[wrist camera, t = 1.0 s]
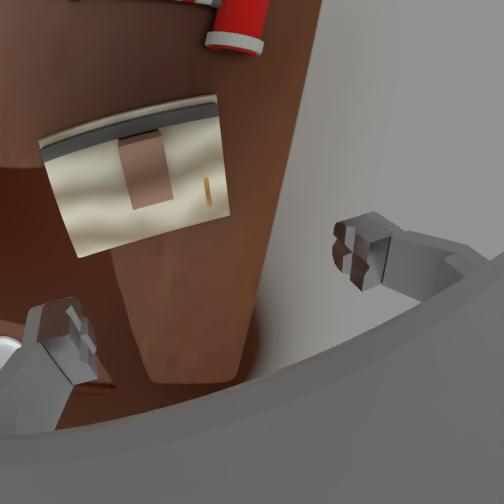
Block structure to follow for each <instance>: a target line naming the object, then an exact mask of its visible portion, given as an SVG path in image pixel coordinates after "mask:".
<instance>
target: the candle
mask: <svg viewBox="0 0 504 504" xmlns="http://www.w3.org/2000/svg"><path fill="white" fill-rule="evenodd" d="M21 345H22V343H20V342H19V341H18V340H16V339H14V338H12V337H9V336H0V370H1V368H2V367H3V366H4V364H5V363H6V362H7V361H8V359H9V358H10V357H11V355H12V354H13V353H14V351H15V350H16V349H17V348H20V347H21Z"/></svg>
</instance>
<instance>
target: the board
mask: <svg viewBox="0 0 504 504" xmlns="http://www.w3.org/2000/svg"><path fill="white" fill-rule="evenodd" d="M154 129H158V130H159V132H160V133H161V135H162V138H163V144H164V150H165V155H166V161H167V166H168V172H169V177H170V182H171V187H172V192H173V197H174V199H172V200H168V201H165V202H161V203H157V204H154V205H150V206H146V207H143V208H139V209H136V210H133V208H132V204H131V200H130V197H129V193H128V189H127V185H126V181H125V177H124V173H123V169H122V164H121V160H120V156H119V151H118V139H119V138H123V137H126V136H130V135H134V134H138V133H142V132H146V131H150V130H154ZM38 142H39V145H40V153H41V157H42V160H43V163H45V167H46V170H47V173H48V177H49V180H50V183H51V186H52V189H53V192H54V195H55V198H56V201H57V204H58V207H59V210H60V212H61V215H62V218H63V220H64V223H65V226H66V228H67V231H68V234H69V236H70V239H71V241H72V243H73V246H74V248H75V251H76V253H77V256H78V258H80V257H83V256H87V255H90V254H93V253H96V252H100V251H103V250H106V249H110V248H113V247H117V246H120V245H123V244H127V243H130V242H134V241H137V240H141V239H144V238H148V237H151V236H155V235H158V234H162V233H165V232H169V231H173V230H176V229H180V228H183V227H187V226H191V225H195V224H198V223H202V222H206V221H210V220H213V219H217V218H221V217H225V216H229V215H230V211H229V203H228V194H227V186H226V177H225V168H224V160H223V151H222V142H221V132H220V123H219V110H218V103H217V95H215V94H207V95H201V96H195V97H189V98H184V99H178V100H173V101H168V102H163V103H159V104H154V105H150V106H145V107H141V108H137V109H133V110H129V111H125V112H121V113H118V114H114V115H110V116H107V117H103V118H100V119H96V120H93V121H90V122H87V123H83V124H80V125H77V126H74V127H71V128H68V129H65V130H62V131H59V132H57V133H54V134H51V135H48V136H46V137H43V138H42V139H40V140H39V141H38Z"/></svg>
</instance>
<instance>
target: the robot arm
mask: <svg viewBox="0 0 504 504" xmlns="http://www.w3.org/2000/svg"><path fill="white" fill-rule="evenodd" d="M333 235H334V236H335V237H336V239H337V240H336V242H335V243H334V245H333V248H332V256H333V259H334V263H335V265H336V266H337V268H338V269H339V270H340V271H341V272H342V273H346V274H349V275H350V281H351V282H352V283H353V284H354V285H355V286H357V287H358V288H359V289H360V290H361V291H365V290H367V289H370V288H372V287H375V286H378V285H380V284H382V285H383V286H386V287H388V288H390V289H393V290H395V291H397V292H399V293H402V294H404V295H406V296H409V297H411V298H413V299H416V300H418V301H420V302H422V303H420V304H418V305H417V306H415V307H413V308H411V309H409V310H407V311H406V312H404V313H402V314H400V315H398V316H396V317H394V318H392V319H390V320H388V321H387V322H384V323H383V324H381V325H379V326H377V327H375V328H373V329H370V330H368V331H367V332H364V333H362V334H360V335H358V336H356V337H354V338H352V339H350V340H347V341H345V342H343V343H341V344H339V345H337V346H334V347H332V348H330V349H328V350H325V351H323V352H321V353H318V354H316V355H314V356H312V357H309V358H307V359H305V360H302V361H300V362H297V363H295V364H292V365H290V366H287V367H285V368H282V369H280V370H277V371H274V372H272V373H269V374H267V375H264V376H261V377H259V378H256V379H253V380H250V381H247V382H245V383H242V384H239V385H236V386H233V387H230V388H227V389H224V390H221V391H218V392H215V393H212V394H209V395H206V396H203V397H200V398H196V399H193V400H189V401H186V402H183V403H179V404H176V405H172V406H168V407H165V408H162V409H158V410H154V411H150V412H146V413H142V414H138V415H134V416H129V417H125V418H121V419H116V420H112V421H107V422H102V423H98V424H92V425H87V426H82V427H75V428H69V429H63V430H57V431H54V429H55V427H56V425H57V422H58V420H59V417H60V415H61V413H62V411H63V408H64V406H65V404H66V401H67V399H68V397H69V395H70V393H71V391H72V388H73V386H72V385H76V384H80V383H84V382H87V381H91V380H95V379H98V371H97V360H96V358H95V357H94V355H93V354H94V353H95V351H96V348H97V347H96V339H95V335H94V331H93V328H92V326H91V324H90V322H89V320H88V319H87V318H86V317H84V316H82V307H81V305H80V303H79V301H78V299H77V298H76V297H70V298H66V299H63V300H59V301H55V302H51V303H47V304H45V305H40V306H37V307H34V308H31V309H30V310H29V313H28V317H27V322H26V326H25V330H24V335H23V340H22V345H21V347H20V348H17V349H16V350H15V351H14V353H13V354H12V355H11V357H10V358H9V359H8V361H7V362H6V363H5V364H4V366H3V367H2V368H1V370H0V504H504V252H502V253H501V254H499V255H498V256H497V257H495V258H493V259H492V260H490V261H489V260H488V259H486V258H485V257H483V256H482V255H481V254H479V253H478V252H477V251H475V250H474V249H472V248H471V247H469V246H468V245H465V244H461V243H457V242H453V241H449V240H446V239H441V238H438V237H434V236H429V235H426V234H421V233H417V232H413V231H409V230H408V231H404V230H403V229H401V228H400V227H398V226H396V225H395V224H394V223H392V222H390V221H389V220H387V219H386V218H384V217H383V216H381V215H380V214H378V213H377V212H369V213H366V214H363V215H360V216H357V217H354V218H350V219H347V220H343V221H340V222H337V223H336V224H335V226H334V234H333Z"/></svg>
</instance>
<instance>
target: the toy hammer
mask: <svg viewBox="0 0 504 504" xmlns="http://www.w3.org/2000/svg"><path fill="white" fill-rule="evenodd" d="M69 1H78V0H69ZM176 1H185V2H193V3H199V4H206V5H210V6H211V7H214V8H217V9H218V11H217V15H216V19H215V23H214V28H213V32H208V33H207V37H206V42H205V46H207V47H209V48H210V49H212V50H216V51H220V52H226V53H231V54H237V55H244V56H256V55H261V53H262V49H263V45H264V42H263V41H261V40H260V38H261V33H262V29H263V25H264V21H265V17H266V13H267V9H268V5H269V1H270V0H176Z"/></svg>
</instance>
